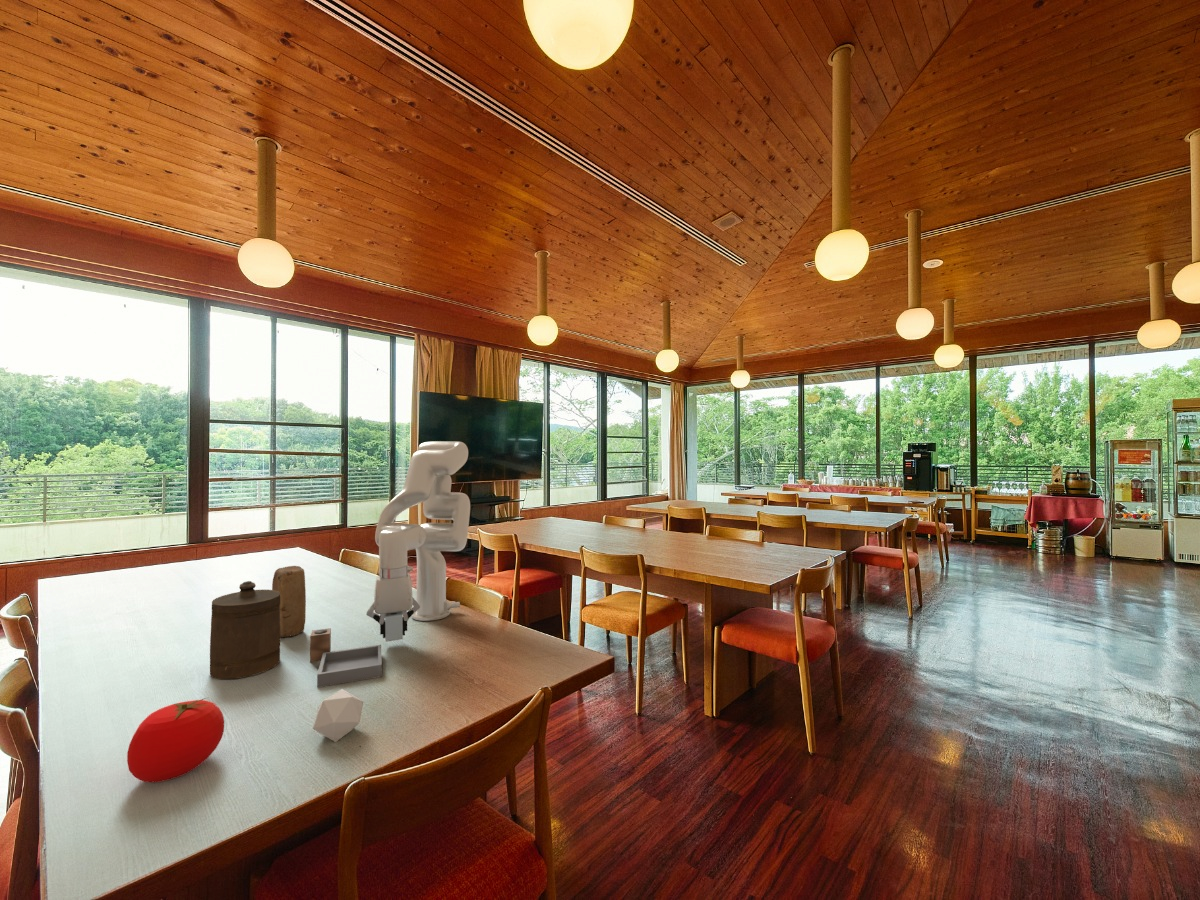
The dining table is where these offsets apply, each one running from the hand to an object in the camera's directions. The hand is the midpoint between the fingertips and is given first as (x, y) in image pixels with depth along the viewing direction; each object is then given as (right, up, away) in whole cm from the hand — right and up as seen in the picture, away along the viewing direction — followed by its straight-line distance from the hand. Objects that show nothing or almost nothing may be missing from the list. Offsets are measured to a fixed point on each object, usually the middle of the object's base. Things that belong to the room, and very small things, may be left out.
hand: (393, 634), depth 143 cm
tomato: (-15, -3, -56) cm, 58 cm away
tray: (-4, -3, -16) cm, 17 cm away
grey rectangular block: (0, -1, 0) cm, 1 cm away
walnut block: (-16, -3, -8) cm, 19 cm away
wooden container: (-32, -3, -14) cm, 36 cm away
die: (+8, -3, -45) cm, 45 cm away
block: (-37, -3, +10) cm, 38 cm away
